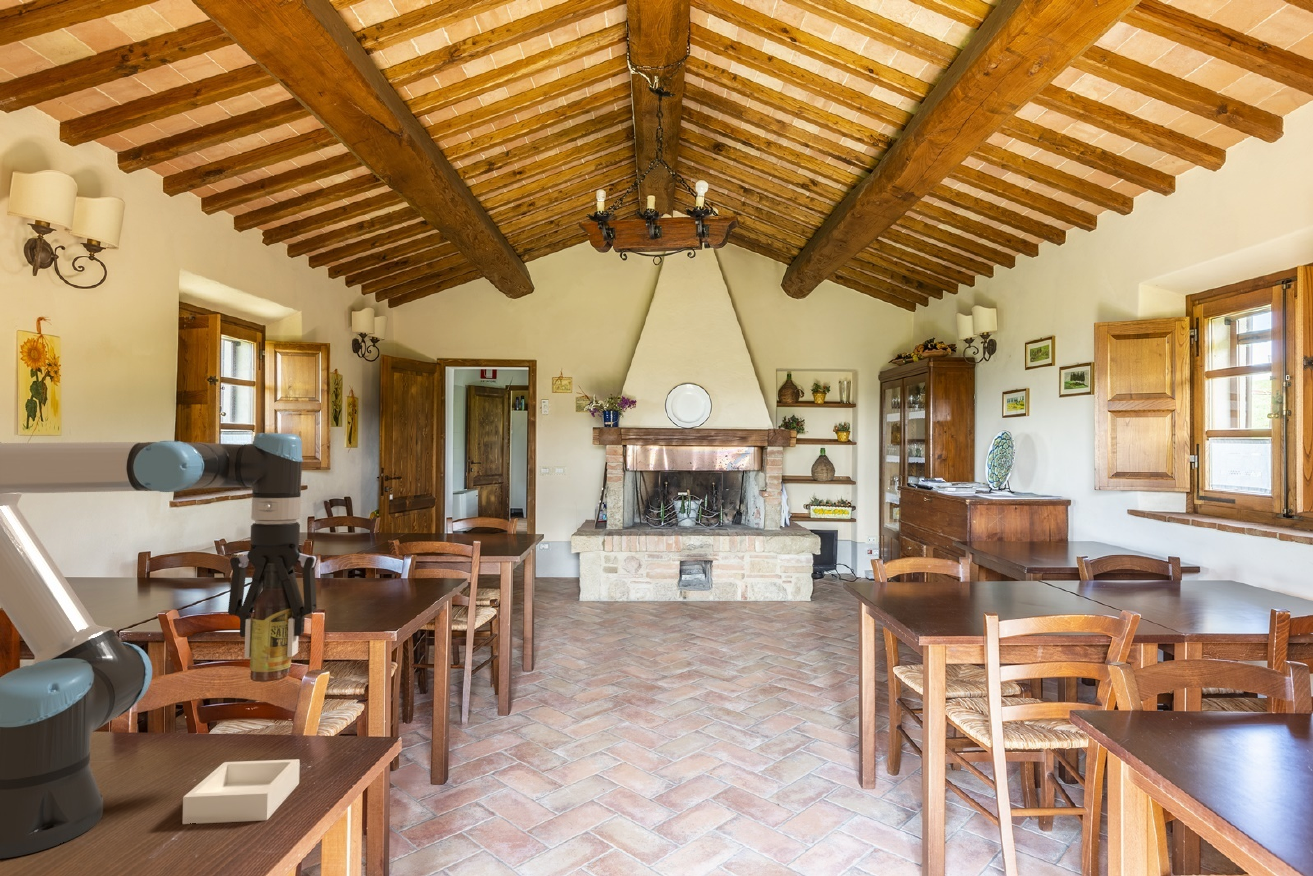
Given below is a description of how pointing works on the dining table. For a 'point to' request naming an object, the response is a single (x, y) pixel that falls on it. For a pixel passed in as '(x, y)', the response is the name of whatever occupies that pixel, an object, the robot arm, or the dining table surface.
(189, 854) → the dining table surface
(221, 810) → the square white tray
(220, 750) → the dining table surface
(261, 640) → the sauce bottle
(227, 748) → the dining table surface
